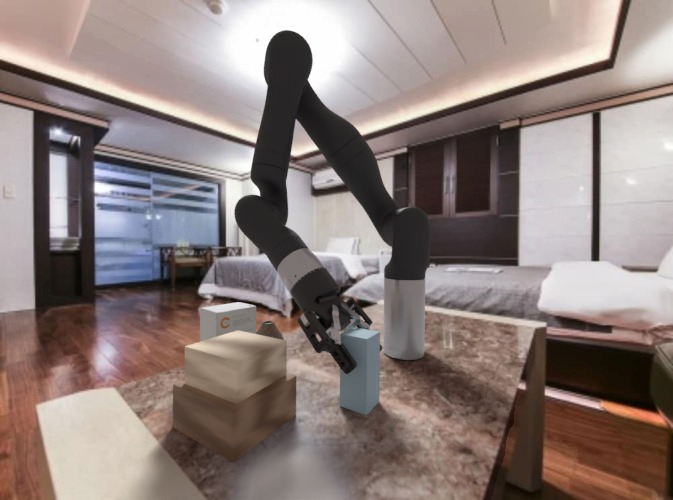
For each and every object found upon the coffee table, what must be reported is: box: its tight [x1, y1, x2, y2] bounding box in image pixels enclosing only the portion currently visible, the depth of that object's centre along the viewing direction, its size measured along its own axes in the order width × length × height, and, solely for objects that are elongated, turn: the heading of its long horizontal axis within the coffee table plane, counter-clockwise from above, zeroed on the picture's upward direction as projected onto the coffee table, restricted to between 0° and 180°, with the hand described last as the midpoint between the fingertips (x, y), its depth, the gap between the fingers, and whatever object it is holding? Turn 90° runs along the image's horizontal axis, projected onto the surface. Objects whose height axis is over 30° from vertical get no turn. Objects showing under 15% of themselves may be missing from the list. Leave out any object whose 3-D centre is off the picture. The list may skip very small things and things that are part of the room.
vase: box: [256, 320, 285, 340], centre depth 60 cm, size 7×7×9 cm
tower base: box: [172, 372, 297, 463], centre depth 40 cm, size 11×12×6 cm
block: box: [339, 326, 381, 416], centre depth 45 cm, size 4×4×11 cm
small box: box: [199, 301, 257, 342], centre depth 54 cm, size 8×6×13 cm
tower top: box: [184, 330, 288, 404], centre depth 41 cm, size 9×10×5 cm
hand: (366, 360), depth 45 cm, fingers open, 8 cm apart
